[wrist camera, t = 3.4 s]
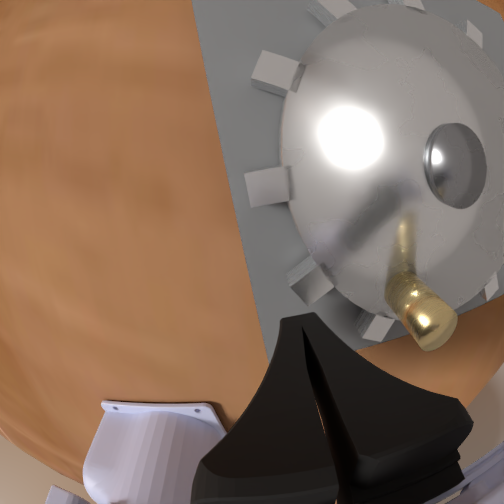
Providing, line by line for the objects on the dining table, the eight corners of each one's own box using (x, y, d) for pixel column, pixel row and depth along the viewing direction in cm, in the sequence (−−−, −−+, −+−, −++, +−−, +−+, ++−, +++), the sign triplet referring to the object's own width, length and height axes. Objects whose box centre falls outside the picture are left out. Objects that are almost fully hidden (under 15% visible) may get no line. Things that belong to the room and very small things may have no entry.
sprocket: (281, 360, 13) (290, 430, 9) (207, -3, 7) (188, -64, 3) (512, 285, 12) (549, 314, 8) (496, 33, 6) (540, 23, 2)
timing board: (269, 356, 15) (270, 370, 14) (189, -21, 7) (184, -33, 6) (517, 277, 13) (525, 283, 12) (492, 16, 6) (501, 13, 5)
